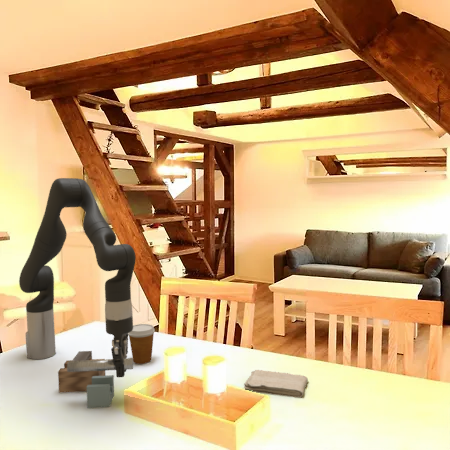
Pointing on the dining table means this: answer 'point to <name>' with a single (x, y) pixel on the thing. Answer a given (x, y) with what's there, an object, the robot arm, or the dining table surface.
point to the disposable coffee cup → (141, 343)
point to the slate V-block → (100, 391)
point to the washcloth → (276, 383)
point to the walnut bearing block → (77, 375)
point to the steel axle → (96, 365)
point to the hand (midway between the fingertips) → (121, 373)
